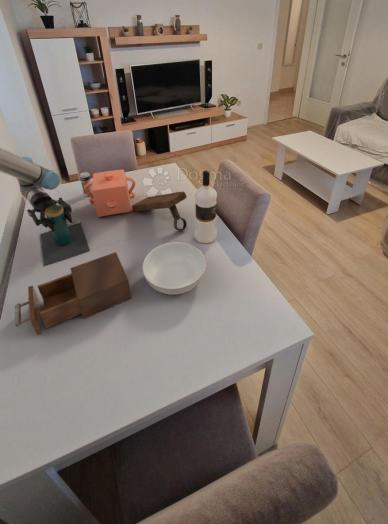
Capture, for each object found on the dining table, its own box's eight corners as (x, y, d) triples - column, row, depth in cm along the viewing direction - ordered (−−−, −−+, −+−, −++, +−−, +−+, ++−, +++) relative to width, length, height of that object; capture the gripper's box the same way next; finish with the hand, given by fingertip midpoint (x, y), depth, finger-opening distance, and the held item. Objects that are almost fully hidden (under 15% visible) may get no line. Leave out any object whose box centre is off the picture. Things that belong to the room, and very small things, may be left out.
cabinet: (83, 319, 81) (77, 300, 77) (76, 286, 92) (70, 268, 87) (131, 298, 88) (128, 279, 83) (119, 269, 98) (115, 251, 94)
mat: (40, 234, 115) (40, 233, 115) (80, 223, 121) (80, 222, 121) (44, 266, 100) (43, 265, 99) (89, 250, 106) (89, 249, 106)
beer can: (82, 194, 142) (77, 174, 136) (90, 191, 145) (85, 170, 139) (88, 197, 139) (83, 176, 133) (95, 193, 143) (91, 173, 137)
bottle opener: (143, 235, 131) (181, 236, 108) (130, 205, 129) (166, 200, 106) (159, 224, 138) (198, 224, 115) (147, 196, 135) (185, 190, 112)
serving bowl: (165, 248, 107) (164, 235, 103) (215, 267, 98) (215, 253, 95) (131, 288, 91) (129, 273, 88) (187, 314, 82) (186, 299, 79)
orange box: (141, 222, 121) (137, 187, 112) (87, 231, 116) (78, 196, 107) (136, 193, 142) (132, 162, 133) (90, 200, 137) (82, 168, 128)
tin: (51, 244, 108) (40, 213, 101) (62, 234, 113) (52, 204, 106) (65, 247, 107) (54, 215, 99) (75, 237, 112) (66, 206, 104)
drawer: (19, 342, 75) (11, 327, 71) (19, 307, 84) (11, 292, 81) (87, 313, 82) (82, 298, 79) (80, 284, 91) (75, 269, 88)
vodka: (194, 229, 117) (193, 165, 102) (215, 229, 117) (218, 165, 102) (193, 244, 109) (193, 177, 94) (217, 244, 109) (220, 177, 94)
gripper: (64, 198, 123) (88, 221, 109) (18, 216, 112) (37, 244, 98) (60, 184, 120) (84, 205, 105) (11, 201, 108) (31, 228, 94)
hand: (62, 224), depth 101 cm, fingers closed on tin, 6 cm apart
